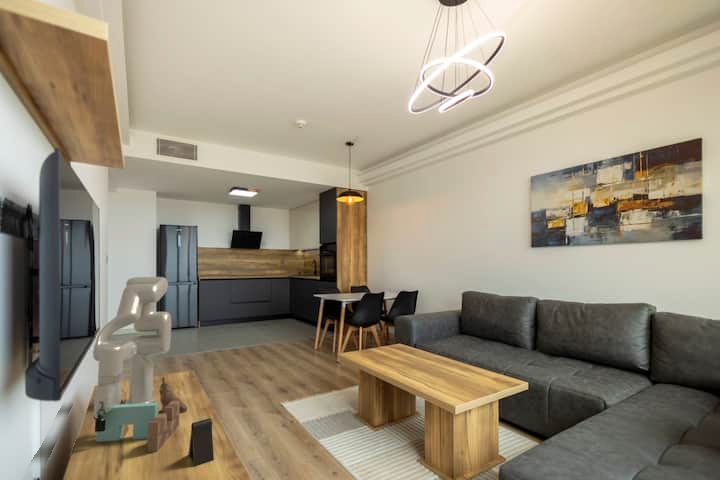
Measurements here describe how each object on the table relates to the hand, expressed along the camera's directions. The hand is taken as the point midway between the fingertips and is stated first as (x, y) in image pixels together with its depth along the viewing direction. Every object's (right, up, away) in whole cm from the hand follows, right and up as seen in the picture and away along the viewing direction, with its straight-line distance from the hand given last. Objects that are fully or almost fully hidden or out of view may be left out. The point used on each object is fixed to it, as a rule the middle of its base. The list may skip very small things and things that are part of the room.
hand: (107, 425), depth 130 cm
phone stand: (+41, -4, -13) cm, 43 cm away
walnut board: (+21, -5, +1) cm, 22 cm away
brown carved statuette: (+12, -7, +23) cm, 27 cm away
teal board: (+7, -5, +1) cm, 9 cm away
